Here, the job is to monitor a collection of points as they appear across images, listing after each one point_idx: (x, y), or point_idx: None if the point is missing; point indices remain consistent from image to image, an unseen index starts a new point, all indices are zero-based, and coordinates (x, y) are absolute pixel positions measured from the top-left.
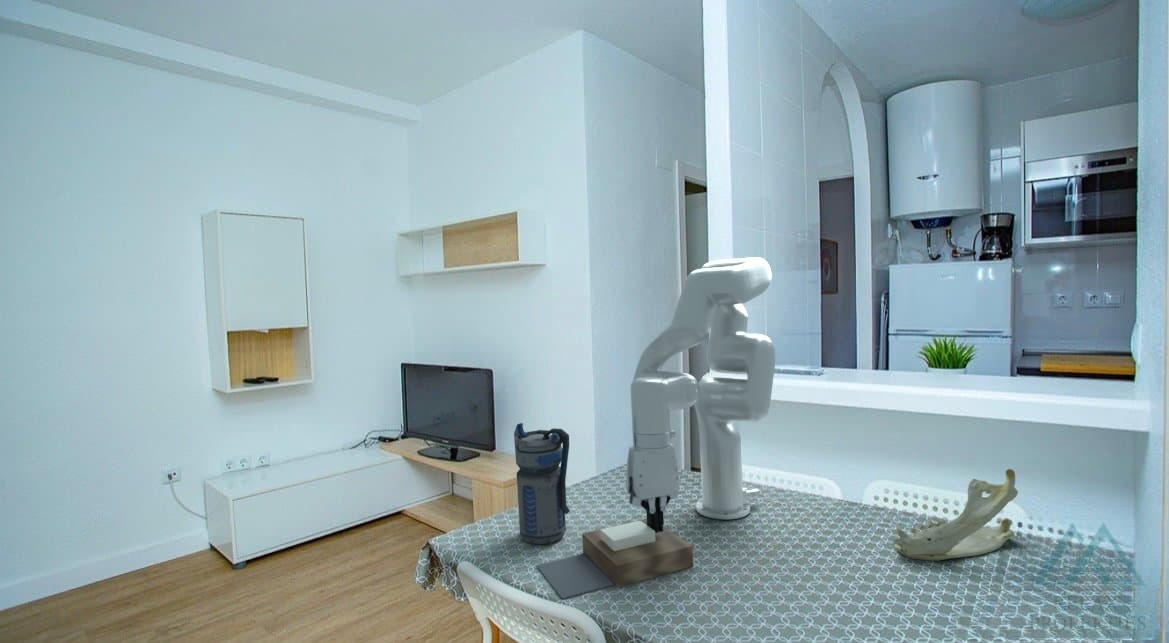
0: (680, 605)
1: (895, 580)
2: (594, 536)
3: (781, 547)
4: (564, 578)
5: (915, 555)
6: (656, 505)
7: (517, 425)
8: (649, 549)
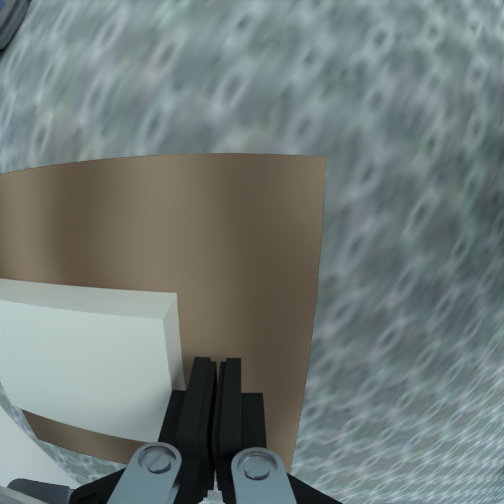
0: None
1: (465, 490)
2: None
3: (494, 402)
4: None
5: None
6: (232, 494)
7: None
8: (140, 441)
